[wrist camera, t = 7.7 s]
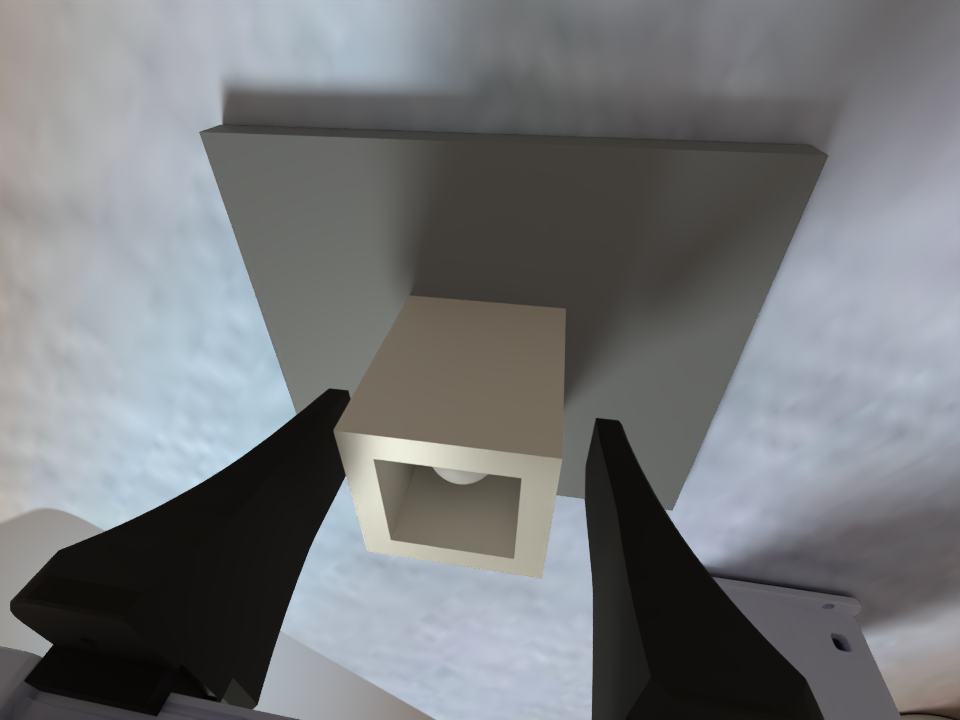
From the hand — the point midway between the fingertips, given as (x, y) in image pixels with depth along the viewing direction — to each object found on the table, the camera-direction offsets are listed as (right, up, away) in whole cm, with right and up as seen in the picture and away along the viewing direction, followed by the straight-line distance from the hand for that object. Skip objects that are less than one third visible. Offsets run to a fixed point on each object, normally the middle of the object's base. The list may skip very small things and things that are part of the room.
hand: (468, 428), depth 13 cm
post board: (+1, +3, +3) cm, 4 cm away
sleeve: (+1, +2, +3) cm, 3 cm away
